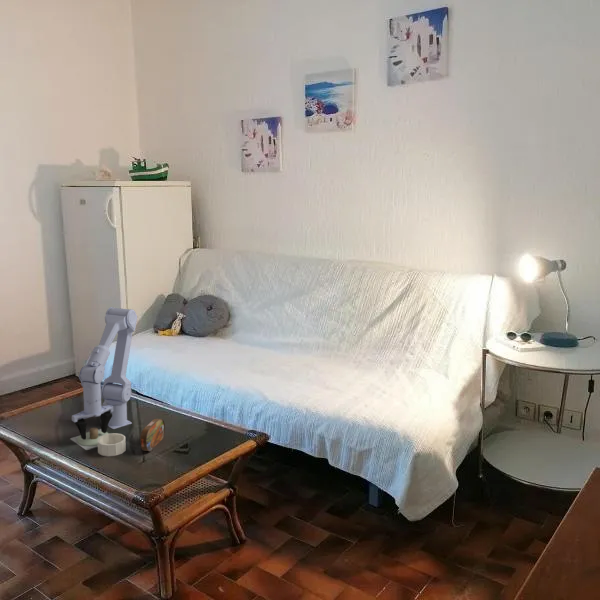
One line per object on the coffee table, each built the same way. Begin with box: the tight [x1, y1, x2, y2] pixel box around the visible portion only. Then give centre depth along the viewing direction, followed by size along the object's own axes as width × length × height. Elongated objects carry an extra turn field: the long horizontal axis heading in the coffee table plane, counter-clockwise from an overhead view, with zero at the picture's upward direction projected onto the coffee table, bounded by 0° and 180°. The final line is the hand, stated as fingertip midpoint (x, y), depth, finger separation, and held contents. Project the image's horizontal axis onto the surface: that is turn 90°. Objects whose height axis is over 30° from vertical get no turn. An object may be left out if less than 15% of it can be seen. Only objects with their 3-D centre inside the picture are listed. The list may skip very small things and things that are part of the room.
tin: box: [139, 418, 166, 452], centre depth 206 cm, size 15×3×8 cm, turn 168°
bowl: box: [97, 432, 127, 457], centre depth 201 cm, size 9×9×4 cm
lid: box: [77, 427, 110, 446], centre depth 209 cm, size 11×11×4 cm
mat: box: [69, 428, 101, 451], centre depth 209 cm, size 12×12×1 cm
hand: (93, 435), depth 209 cm, fingers open, 7 cm apart
